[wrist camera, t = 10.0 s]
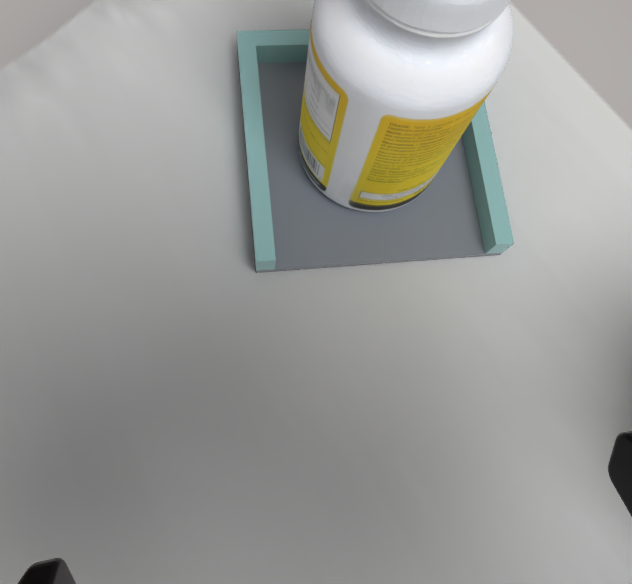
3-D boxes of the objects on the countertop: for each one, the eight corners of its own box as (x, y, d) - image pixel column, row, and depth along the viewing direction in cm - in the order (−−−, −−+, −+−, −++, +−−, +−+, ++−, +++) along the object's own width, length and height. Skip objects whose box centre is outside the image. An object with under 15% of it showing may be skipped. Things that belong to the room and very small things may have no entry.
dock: (499, 254, 25) (514, 243, 24) (256, 272, 24) (255, 261, 22) (457, 48, 28) (468, 26, 26) (238, 53, 26) (236, 30, 25)
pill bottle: (462, 164, 26) (619, -48, 15) (361, 246, 24) (449, 78, 13) (370, 67, 27) (451, -203, 16) (266, 140, 25) (273, -102, 14)
